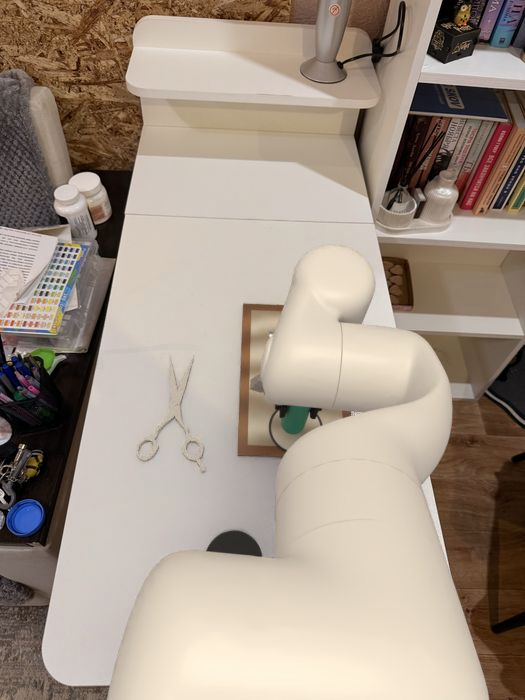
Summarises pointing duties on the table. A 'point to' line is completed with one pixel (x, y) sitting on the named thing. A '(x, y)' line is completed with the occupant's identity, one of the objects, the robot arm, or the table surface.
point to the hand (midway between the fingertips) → (297, 408)
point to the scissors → (175, 412)
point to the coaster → (235, 544)
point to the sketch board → (254, 410)
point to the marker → (295, 419)
